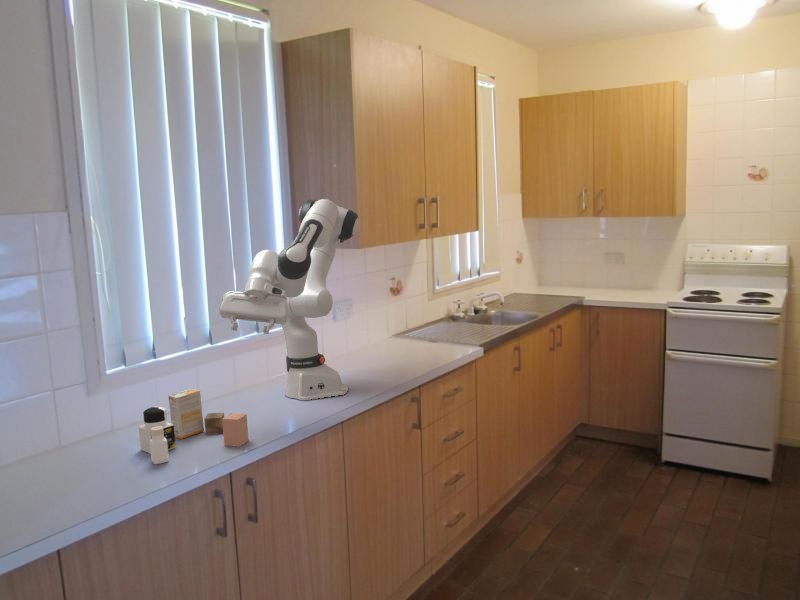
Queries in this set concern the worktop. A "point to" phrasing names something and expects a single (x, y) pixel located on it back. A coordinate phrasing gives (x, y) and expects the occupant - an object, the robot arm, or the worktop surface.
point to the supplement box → (186, 413)
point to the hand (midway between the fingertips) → (249, 331)
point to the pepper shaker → (158, 446)
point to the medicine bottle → (153, 419)
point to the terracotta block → (235, 429)
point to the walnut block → (214, 423)
